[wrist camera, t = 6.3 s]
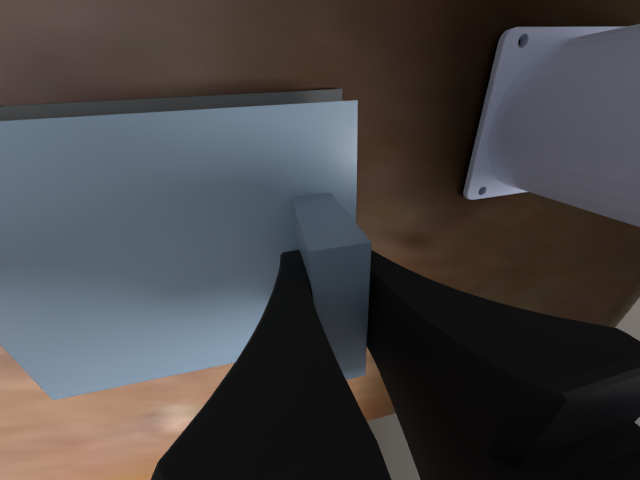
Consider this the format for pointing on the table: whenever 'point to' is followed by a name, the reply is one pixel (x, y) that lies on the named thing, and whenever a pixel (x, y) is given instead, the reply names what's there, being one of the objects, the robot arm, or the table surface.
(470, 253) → the table surface
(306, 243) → the lid
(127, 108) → the mat
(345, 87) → the table surface
